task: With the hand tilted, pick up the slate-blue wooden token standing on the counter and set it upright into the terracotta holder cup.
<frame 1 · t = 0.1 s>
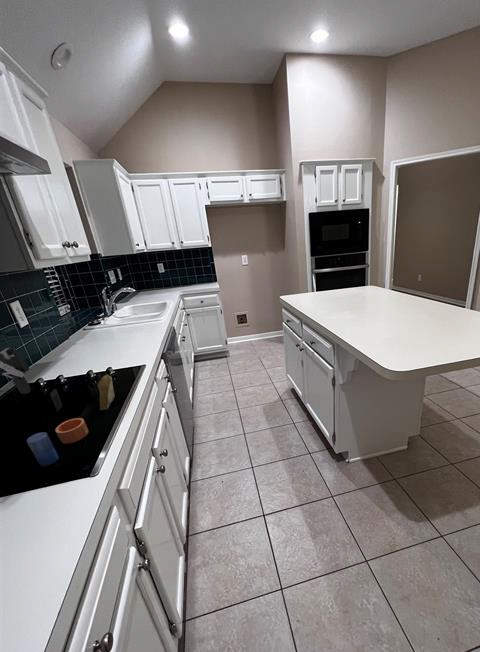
hand: (8, 403, 68), 23 cm above the counter, tool pointing down, fingers open, 8 cm apart
holder: (74, 435, 96), on the counter
rock: (106, 403, 113), on the counter
token: (49, 460, 86), on the counter
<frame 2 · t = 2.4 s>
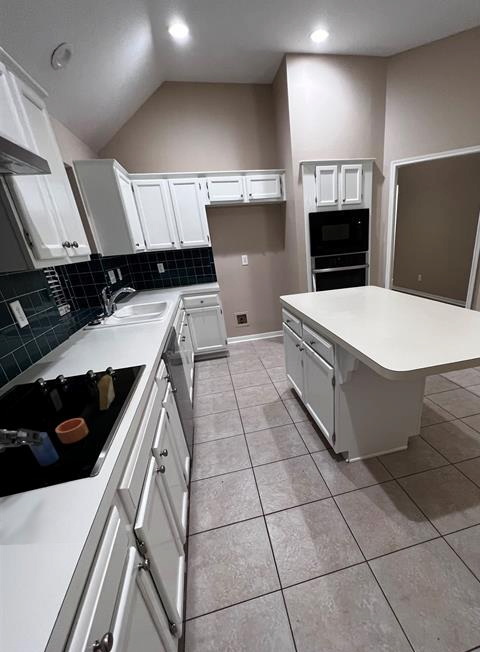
hand: (22, 444, 78), 10 cm above the counter, tool tilted 45°, fingers open, 8 cm apart
nothing on the counter moved.
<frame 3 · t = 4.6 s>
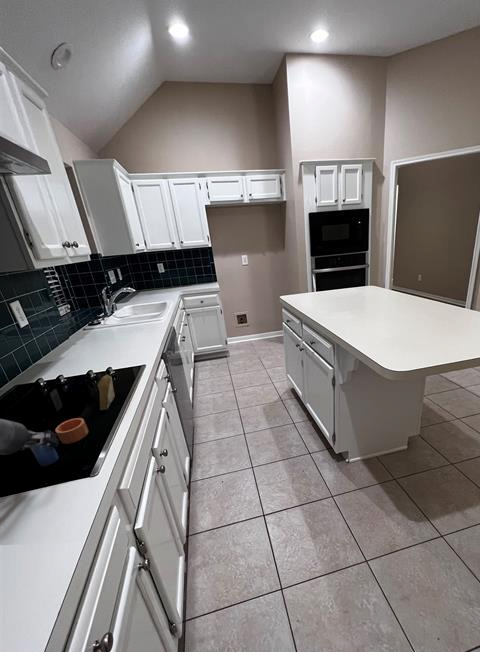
hand: (46, 444, 86), 4 cm above the counter, tool tilted 45°, fingers closed on token, 4 cm apart
token: (49, 460, 86), on the counter, touching gripper
everything else where it was.
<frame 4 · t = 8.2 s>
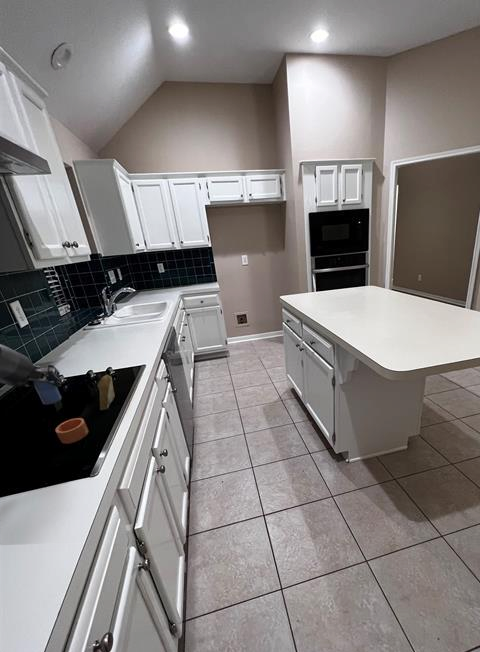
hand: (50, 384, 88), 18 cm above the counter, tool tilted 45°, fingers closed on token, 4 cm apart
token: (52, 400, 88), point 14 cm above the counter, touching gripper
everything else where it was.
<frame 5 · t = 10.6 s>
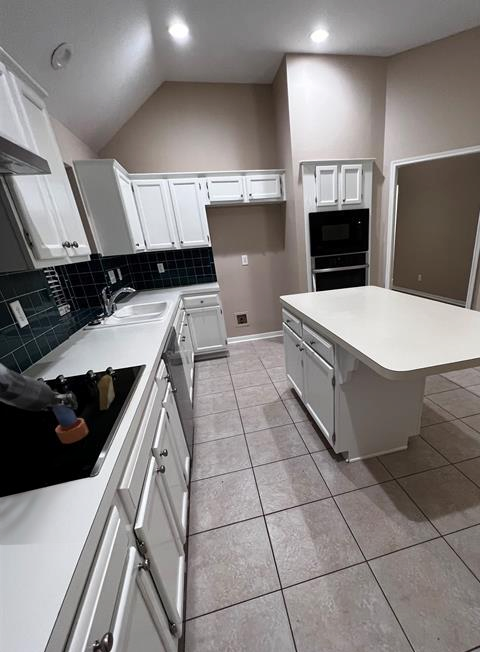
hand: (66, 407, 94), 9 cm above the counter, tool tilted 45°, fingers closed on token, 4 cm apart
token: (69, 422, 94), point 5 cm above the counter, touching gripper
everything else where it was.
when the fingers open (5 cm above the counter, at t = 12.3 s): token stays where it is, resting on holder.
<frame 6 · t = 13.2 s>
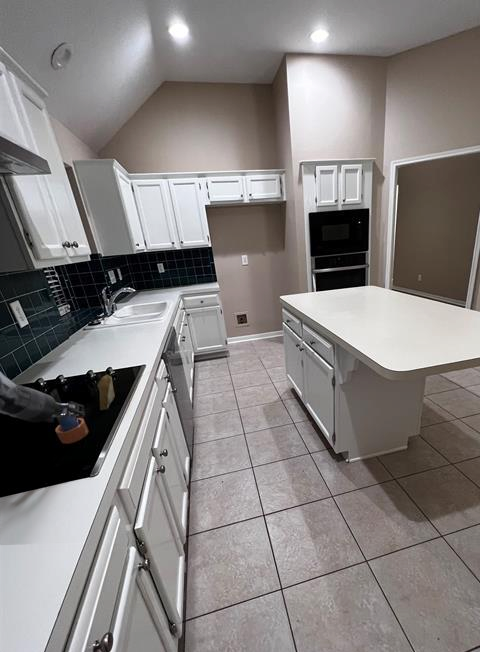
hand: (67, 417, 94), 6 cm above the counter, tool tilted 45°, fingers open, 8 cm apart
token: (74, 434, 96), point 1 cm above the counter, touching holder
everything else where it was.
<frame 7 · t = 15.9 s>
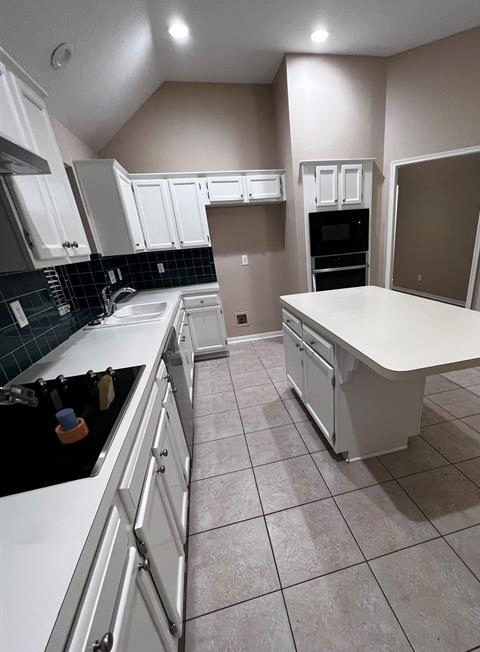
hand: (16, 405, 76), 19 cm above the counter, tool tilted 45°, fingers open, 8 cm apart
nothing on the counter moved.
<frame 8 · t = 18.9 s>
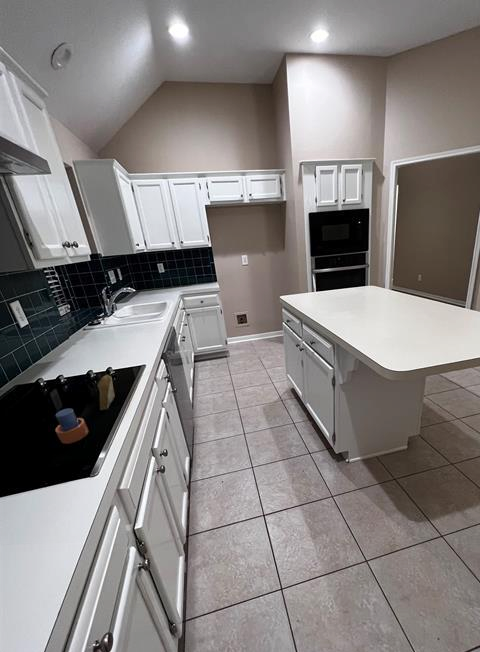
nothing on the counter moved.
at the end: token 0.2 cm off-centre in the holder, point 0.6 cm above the holder's base; token tilted 0°; the gripper is holding nothing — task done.
